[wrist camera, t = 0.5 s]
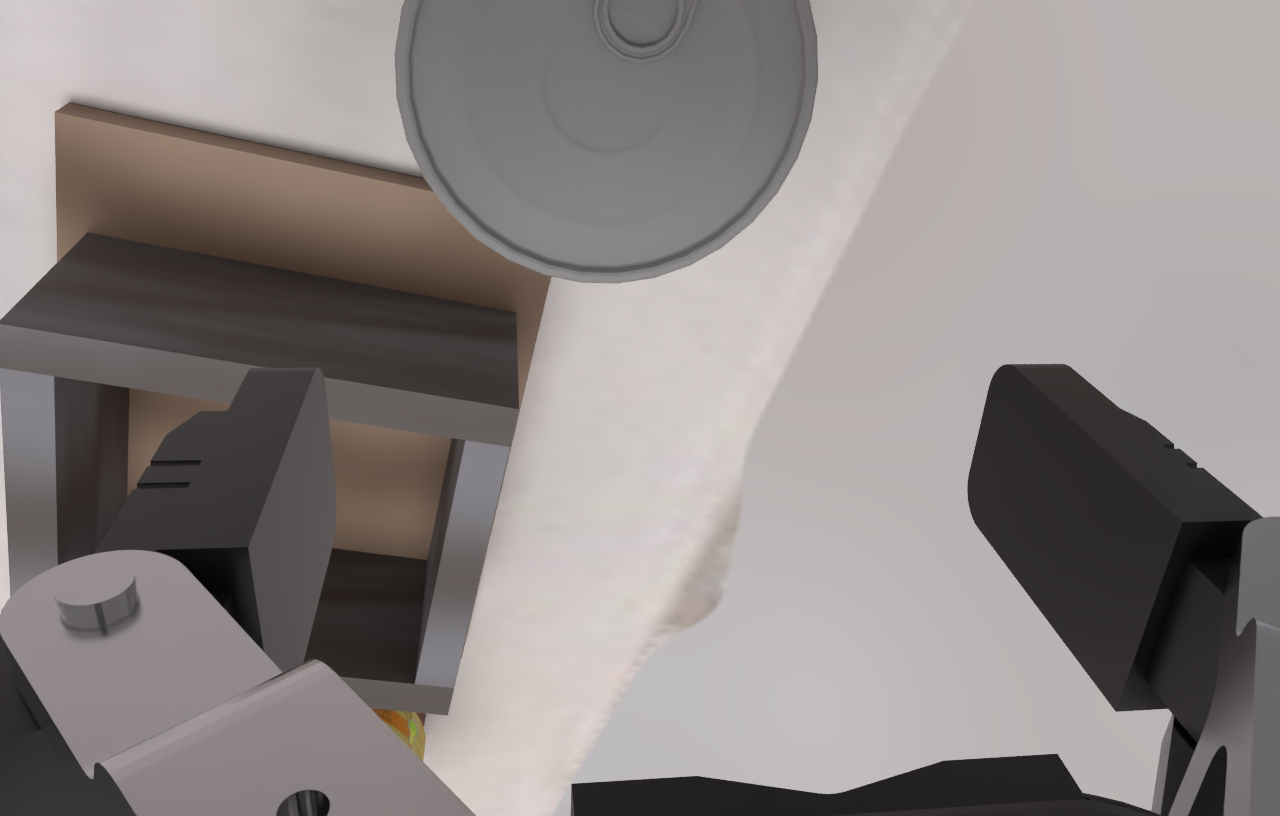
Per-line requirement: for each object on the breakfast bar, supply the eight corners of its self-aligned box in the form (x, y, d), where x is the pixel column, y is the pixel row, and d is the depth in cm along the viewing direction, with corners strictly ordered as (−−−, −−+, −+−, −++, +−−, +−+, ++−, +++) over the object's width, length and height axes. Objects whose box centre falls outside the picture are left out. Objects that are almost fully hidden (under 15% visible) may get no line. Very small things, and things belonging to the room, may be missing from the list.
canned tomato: (644, 178, 31) (706, 337, 22) (393, 77, 29) (340, 206, 19) (762, -85, 28) (897, -32, 18) (488, -224, 25) (480, -246, 16)
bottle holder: (68, 102, 28) (-51, 182, 22) (562, 208, 31) (576, 302, 25) (73, 596, 36) (-11, 751, 30) (462, 639, 39) (455, 787, 33)
